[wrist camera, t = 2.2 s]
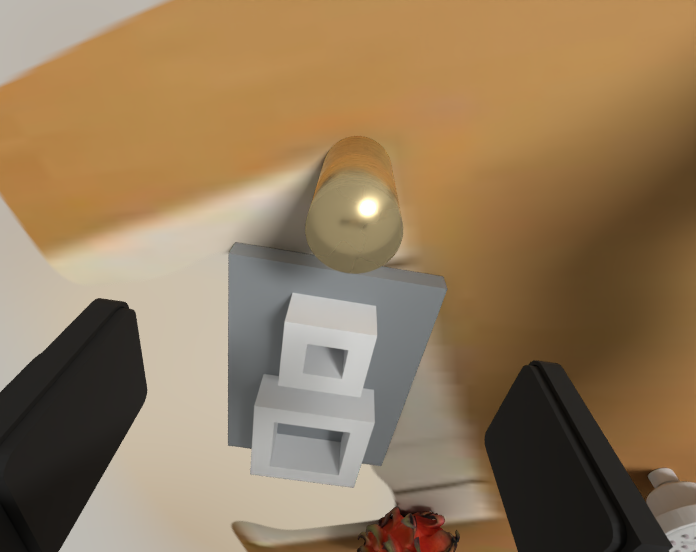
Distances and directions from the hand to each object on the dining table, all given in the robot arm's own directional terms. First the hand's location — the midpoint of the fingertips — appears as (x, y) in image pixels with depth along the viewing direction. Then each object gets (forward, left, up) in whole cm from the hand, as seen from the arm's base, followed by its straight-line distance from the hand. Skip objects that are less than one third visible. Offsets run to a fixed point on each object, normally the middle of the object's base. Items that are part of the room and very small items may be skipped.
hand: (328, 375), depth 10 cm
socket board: (+16, 0, -16) cm, 22 cm away
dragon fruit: (+37, +12, -16) cm, 42 cm away
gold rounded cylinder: (0, 0, -16) cm, 16 cm away
